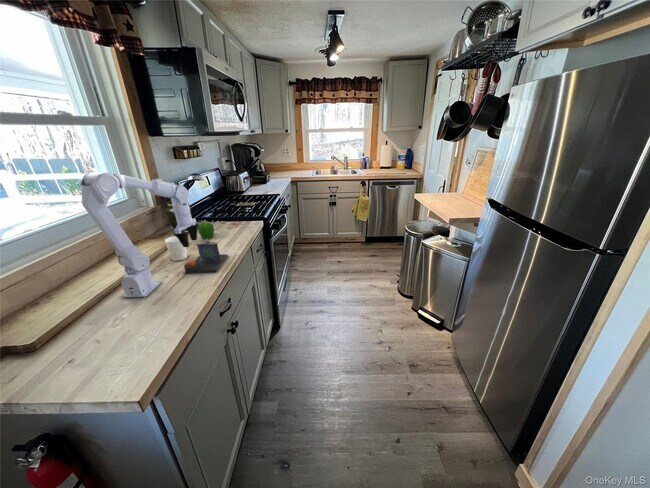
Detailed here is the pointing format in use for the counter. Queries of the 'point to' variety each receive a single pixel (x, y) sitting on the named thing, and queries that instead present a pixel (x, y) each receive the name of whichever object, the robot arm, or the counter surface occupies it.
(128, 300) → the counter surface
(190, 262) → the tare button
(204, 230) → the bell pepper
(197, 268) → the scale
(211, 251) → the dark blue flat block
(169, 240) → the white cup
